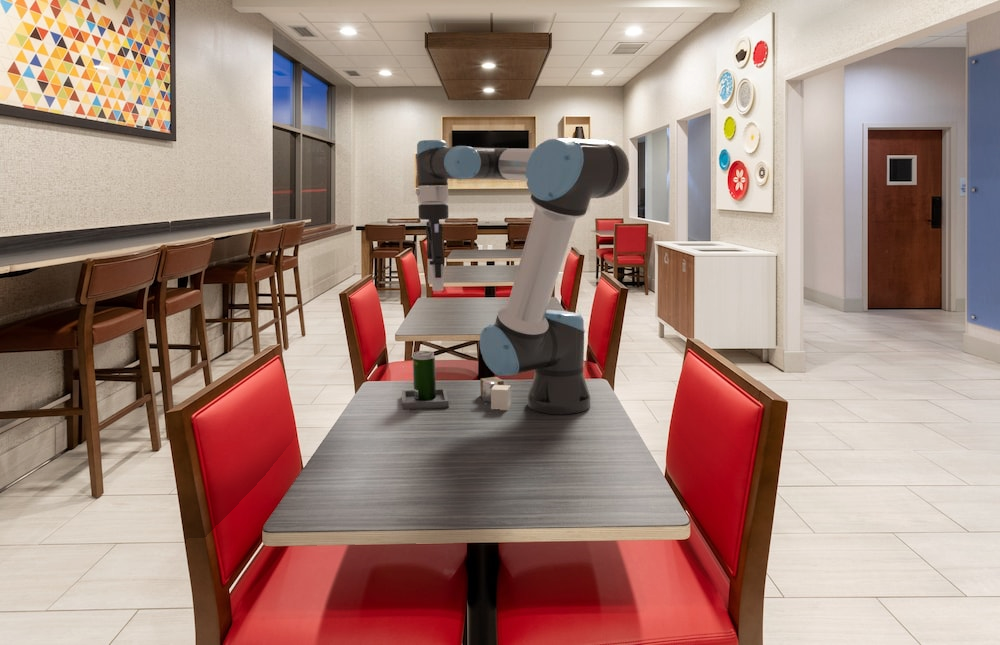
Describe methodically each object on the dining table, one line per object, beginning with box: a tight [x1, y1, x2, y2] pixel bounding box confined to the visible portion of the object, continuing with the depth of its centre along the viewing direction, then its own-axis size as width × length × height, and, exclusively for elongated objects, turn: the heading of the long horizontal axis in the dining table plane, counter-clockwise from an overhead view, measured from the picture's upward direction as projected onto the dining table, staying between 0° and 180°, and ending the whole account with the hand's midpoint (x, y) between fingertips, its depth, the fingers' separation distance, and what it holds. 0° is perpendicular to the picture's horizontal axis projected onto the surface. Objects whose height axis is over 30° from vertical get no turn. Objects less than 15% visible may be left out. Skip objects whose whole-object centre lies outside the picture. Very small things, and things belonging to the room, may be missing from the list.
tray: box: [401, 387, 450, 411], centre depth 175 cm, size 11×11×2 cm
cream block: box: [490, 384, 512, 411], centre depth 169 cm, size 4×4×5 cm
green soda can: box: [412, 350, 437, 402], centre depth 173 cm, size 5×5×12 cm
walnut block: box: [479, 376, 505, 398], centre depth 178 cm, size 4×4×4 cm
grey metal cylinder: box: [482, 381, 498, 405], centre depth 173 cm, size 4×4×5 cm
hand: (435, 287), depth 182 cm, fingers open, 13 cm apart
